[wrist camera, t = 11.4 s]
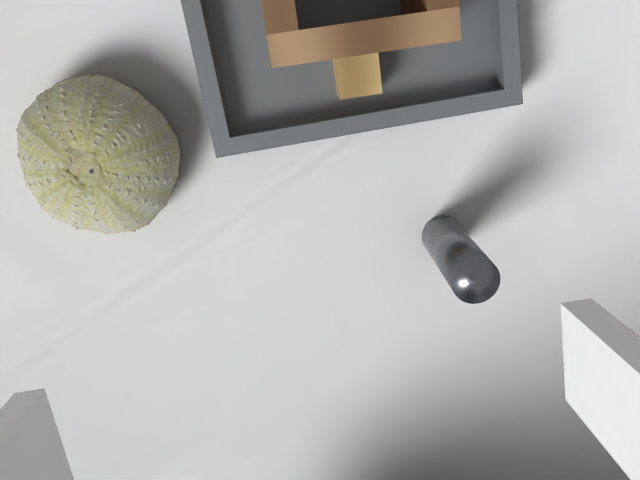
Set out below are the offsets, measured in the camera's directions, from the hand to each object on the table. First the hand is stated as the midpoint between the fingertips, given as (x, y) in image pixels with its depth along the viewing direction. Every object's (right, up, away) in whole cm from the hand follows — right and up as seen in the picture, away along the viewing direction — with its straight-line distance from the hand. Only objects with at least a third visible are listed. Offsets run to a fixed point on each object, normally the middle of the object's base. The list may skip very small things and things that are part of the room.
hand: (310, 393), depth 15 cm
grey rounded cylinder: (+8, +4, +25) cm, 26 cm away
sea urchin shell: (-13, +9, +22) cm, 27 cm away
